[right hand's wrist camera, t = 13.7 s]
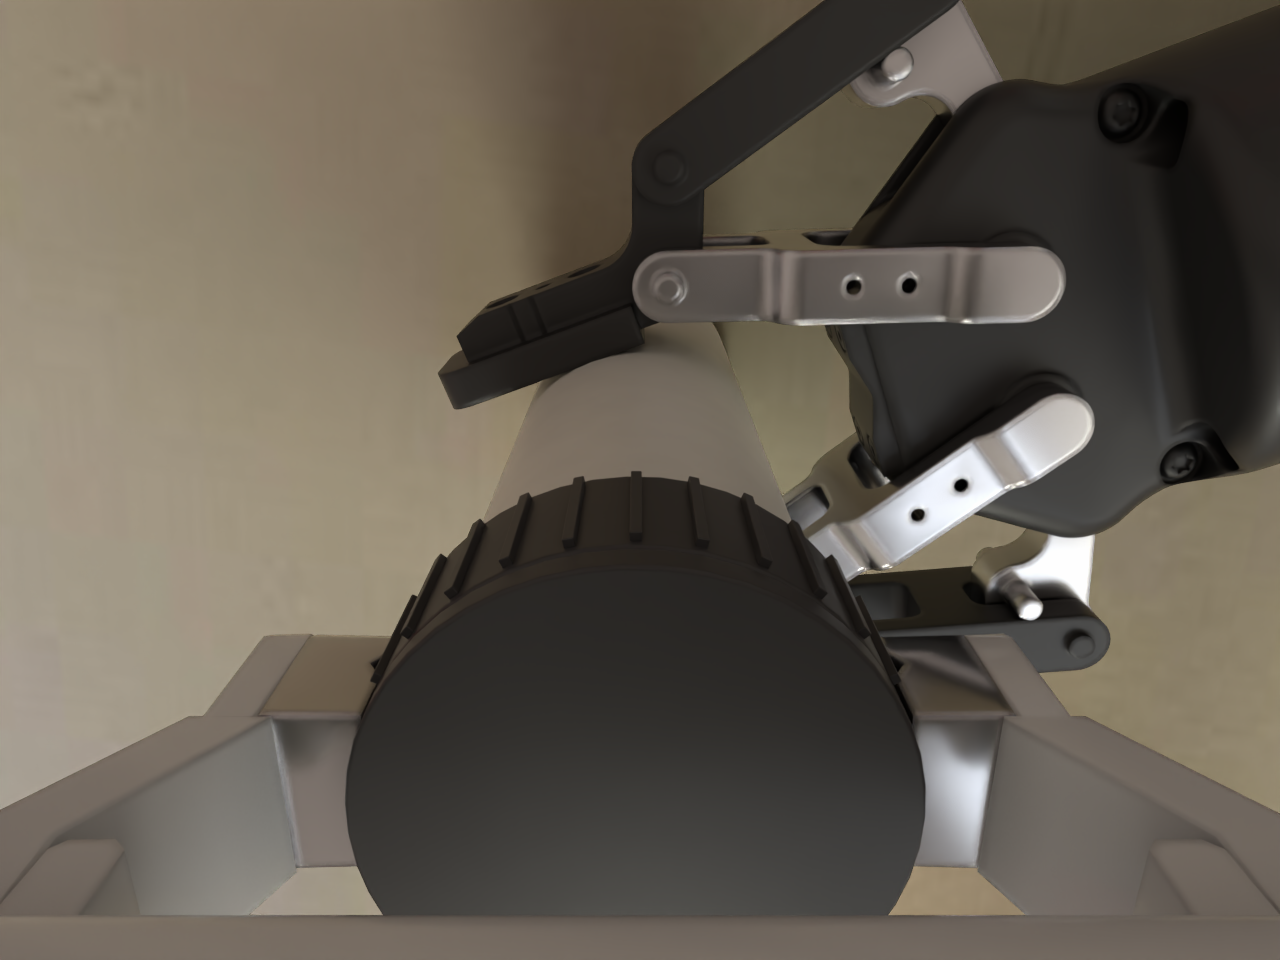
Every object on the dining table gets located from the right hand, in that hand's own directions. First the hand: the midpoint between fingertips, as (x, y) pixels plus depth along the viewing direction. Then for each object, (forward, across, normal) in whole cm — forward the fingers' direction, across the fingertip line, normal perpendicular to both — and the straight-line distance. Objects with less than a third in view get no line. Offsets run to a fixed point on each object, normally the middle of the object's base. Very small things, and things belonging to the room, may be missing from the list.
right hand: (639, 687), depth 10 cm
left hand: (+8, -2, -1) cm, 8 cm away
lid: (-2, 0, 0) cm, 2 cm away
